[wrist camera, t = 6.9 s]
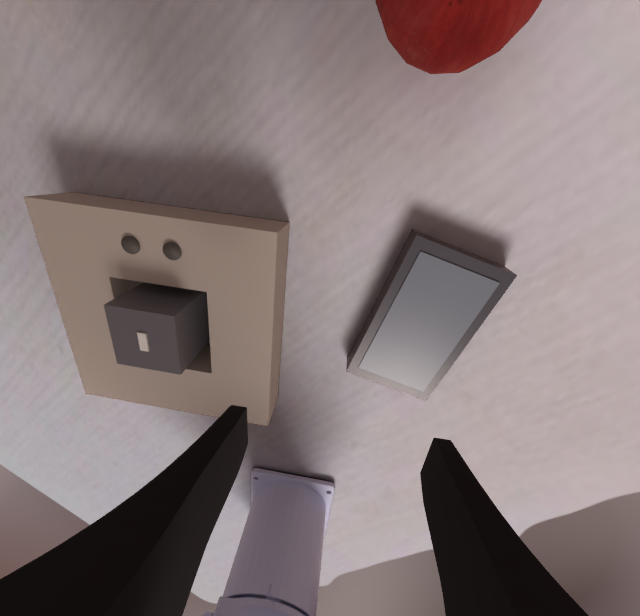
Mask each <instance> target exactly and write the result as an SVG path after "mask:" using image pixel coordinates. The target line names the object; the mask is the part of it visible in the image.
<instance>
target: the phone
mask: <svg viewBox="0 0 640 616" xmlns="http://www.w3.org/2000/svg"><path fill="white" fill-rule="evenodd" d="M516 276H517V275H516V274H514V273H513V272H512V271H510V270H509V269H507V268H506V267H504V266H502V265H499V264H497V263H494V262H492V261H489V260H487V259H484V258H482V257H479V256H477V255H474V254H472V253H469V252H467V251H464V250H462V249H459V248H457V247H454V246H452V245H449V244H447V243H444V242H442V241H439V240H437V239H434V238H432V237H429V236H427V235H424V234H422V233H419V232H417V231H414V230H412V231H411V233H410V235H409V237H408V238H407V240H406V242H405V244H404V246H403V248H402V250H401V252H400V254H399V256H398V258H397V260H396V262H395V264H394V266H393V268H392V270H391V272H390V274H389V276H388V278H387V280H386V282H385V284H384V286H383V288H382V290H381V292H380V294H379V296H378V298H377V300H376V302H375V304H374V306H373V308H372V310H371V312H370V314H369V316H368V318H367V320H366V322H365V324H364V326H363V328H362V330H361V332H360V334H359V336H358V338H357V340H356V342H355V344H354V346H353V348H352V350H351V352H350V354H349V356H348V358H347V368H346V371H347V372H349V373H352V374H355V375H357V376H360V377H363V378H366V379H368V380H371V381H374V382H376V383H379V384H382V385H384V386H387V387H390V388H392V389H395V390H398V391H400V392H403V393H406V394H408V395H411V396H414V397H417V398H419V399H422V400H425V401H427V399H428V398H429V396H430V395H431V394H432V392H433V391H434V390H435V388H436V387H437V385H438V384H439V383H440V381H441V380H442V378H443V377H444V376H445V374H446V373H447V372H448V370H449V369H450V367H451V366H452V365H453V363H454V362H455V361H456V359H457V358H458V356H459V355H460V354H461V352H462V351H463V349H464V348H465V347H466V345H467V344H468V343H469V341H470V340H471V338H472V337H473V336H474V334H475V333H476V331H477V330H478V329H479V327H480V326H481V325H482V323H483V322H484V320H485V319H486V318H487V316H488V315H489V314H490V312H491V311H492V309H493V308H494V307H495V305H496V304H497V302H498V301H499V300H500V298H501V297H502V296H503V294H504V293H505V291H506V290H507V289H508V287H509V286H510V284H511V283H512V282H513V280H514V279H515V278H516Z"/></svg>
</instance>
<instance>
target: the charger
mask: <svg viewBox="0 0 640 616" xmlns="http://www.w3.org/2000/svg"><path fill="white" fill-rule="evenodd" d="M104 309H105V313H106V318H107V322H108V326H109V331H110V335H111V339H112V344H113V348H114V352H115V357H116V361H117V364H122V365H127V366H133V367H139V368H144V369H150V370H156V371H162V372H167V373H173V374H179V375H181V374H182V373H183V372H184V370H185V369H186V368H187V367H188V366H189V365H190V363H191V362H192V361H193V360H194V359H195V357H196V356H197V355H198V354H199V353H200V351H201V350H202V349H203V348H204V347H205V346H206V344H207V343H208V342H209V341H210V336H209V320H208V304H207V292H203V291H197V290H190V289H184V288H178V287H171V286H165V285H158V284H152V283H145V282H144V283H142V284H140V285H138V286H136V287H135V288H133V289H131V290H129V291H127V292H126V293H124V294H122V295H120V296H118V297H117V298H115V299H113V300H111V301H109V302H108V303H106V304H104Z"/></svg>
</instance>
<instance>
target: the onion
mask: <svg viewBox="0 0 640 616" xmlns="http://www.w3.org/2000/svg"><path fill="white" fill-rule="evenodd" d="M541 1H542V0H376V4H377V7H378V10H379V13H380V16H381V19H382V23H383V26H384V29H385V32H386V35H387V38H388V40H389V42H390V43H391V44H392V45H393V47H394V48H395V49H396V50H397V52H398V53H399V54H400V55H401V57H402V58H403V59H404V60H405V62H406V63H407V64H409V65H412V66H414V67H416V68H419V69H421V70H423V71H425V72H428V73H430V74H440V73H459V72H462V71H464V70H466V69H468V68H470V67H472V66H473V65H475V64H477V63H479V62H481V61H482V60H484V59H486V58H488V57H490V56H491V55H493V54H495V53H497V52H499V51H500V50H501V49H502V48H503V47H504V46H505V45H506V44H507V43H508V42H509V41H510V39H511V38H512V37H513V36H514V35H515V34H516V33H517V32H518V31H519V30H520V29H521V28H522V27H523V26H524V25H525V24H526V23H527V22H528V21H529V19H530V18H531V16H532V15H533V14H534V12H535V11H536V9H537V8H538V6H539V4H540V3H541Z"/></svg>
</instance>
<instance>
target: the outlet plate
mask: <svg viewBox="0 0 640 616" xmlns="http://www.w3.org/2000/svg"><path fill="white" fill-rule="evenodd" d="M24 199H25V202H26V205H27V208H28V211H29V214H30V218H31V221H32V224H33V227H34V230H35V234H36V237H37V240H38V243H39V246H40V250H41V253H42V256H43V259H44V262H45V265H46V269H47V272H48V275H49V278H50V281H51V285H52V288H53V291H54V294H55V297H56V301H57V304H58V307H59V310H60V313H61V316H62V320H63V323H64V326H65V329H66V332H67V336H68V339H69V342H70V345H71V348H72V352H73V355H74V358H75V361H76V364H77V367H78V371H79V374H80V377H81V380H82V383H83V387H84V390H85V393H86V394H90V395H96V396H101V397H107V398H113V399H118V400H124V401H129V402H135V403H140V404H146V405H152V406H157V407H163V408H168V409H174V410H180V411H185V412H191V413H196V414H202V415H208V416H213V417H220V416H221V415H222V414H223V413H224V412H225V411H226V410H227V408H228V407H229V406H231V405H236V406H242V407H247V423H252V424H258V425H263V426H268V425H269V422H270V419H271V416H272V413H273V410H274V408H275V405H276V402H277V399H278V391H279V376H280V361H281V345H282V330H283V315H284V300H285V284H286V269H287V254H288V239H289V223H290V222H282V221H275V220H268V219H261V218H254V217H247V216H239V215H232V214H225V213H218V212H211V211H203V210H196V209H189V208H182V207H175V206H167V205H160V204H153V203H146V202H139V201H132V200H124V199H117V198H110V197H103V196H96V195H88V194H81V193H74V192H69V193H59V194H48V195H38V196H28V197H24ZM144 282H145V283H152V284H158V285H165V286H171V287H178V288H184V289H190V290H197V291H203V292H207V304H208V320H209V336H210V345H206V346H205V347H204V348H203V349H202V350H201V351H200V353H199V354H198V355H197V356H196V357H195V359H194V360H193V361H192V362H191V363H190V365H189V366H188V367H187V368H186V369H185V370H184V372H183V373H182V374H181V375H179V374H173V373H167V372H162V371H156V370H150V369H144V368H139V367H133V366H127V365H122V364H117V361H116V357H115V352H114V348H113V344H112V339H111V335H110V331H109V326H108V322H107V318H106V313H105V309H104V304H106V303H108V302H109V301H111V300H113V299H115V298H117V297H118V296H120V295H122V294H124V293H126V292H127V291H129V290H131V289H133V288H135V287H136V286H138V285H140V284H142V283H144Z"/></svg>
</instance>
